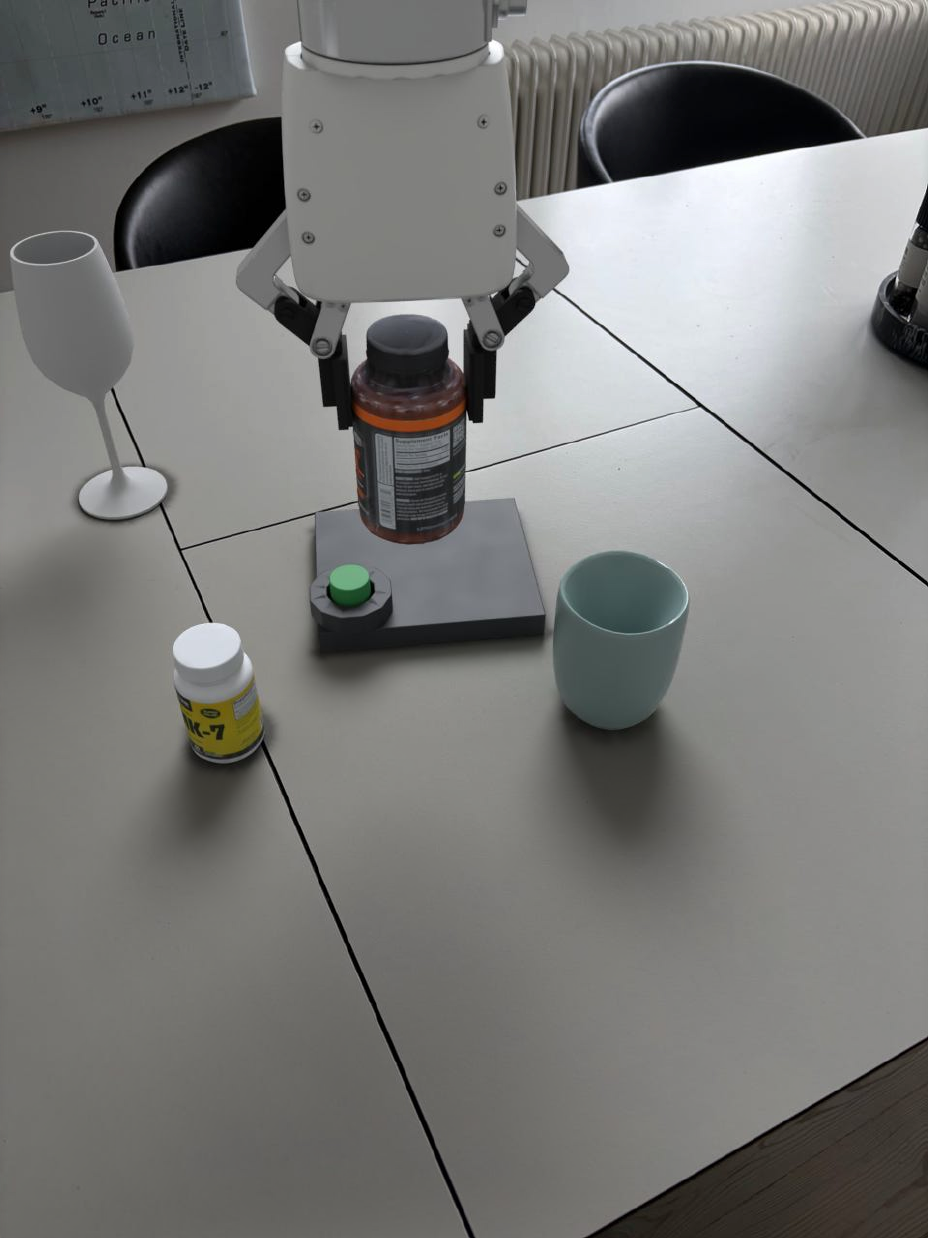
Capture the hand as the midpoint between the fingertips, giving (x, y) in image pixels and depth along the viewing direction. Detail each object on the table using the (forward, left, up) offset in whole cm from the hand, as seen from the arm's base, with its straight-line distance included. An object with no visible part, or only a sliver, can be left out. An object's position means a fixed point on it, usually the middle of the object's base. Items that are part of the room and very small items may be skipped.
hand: (409, 409), depth 52 cm
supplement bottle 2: (0, 0, -7) cm, 7 cm away
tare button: (-4, +8, -19) cm, 21 cm away
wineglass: (-23, +27, -23) cm, 42 cm away
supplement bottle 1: (-13, -1, -23) cm, 26 cm away
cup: (+12, -1, -23) cm, 26 cm away
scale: (+1, +13, -22) cm, 26 cm away
